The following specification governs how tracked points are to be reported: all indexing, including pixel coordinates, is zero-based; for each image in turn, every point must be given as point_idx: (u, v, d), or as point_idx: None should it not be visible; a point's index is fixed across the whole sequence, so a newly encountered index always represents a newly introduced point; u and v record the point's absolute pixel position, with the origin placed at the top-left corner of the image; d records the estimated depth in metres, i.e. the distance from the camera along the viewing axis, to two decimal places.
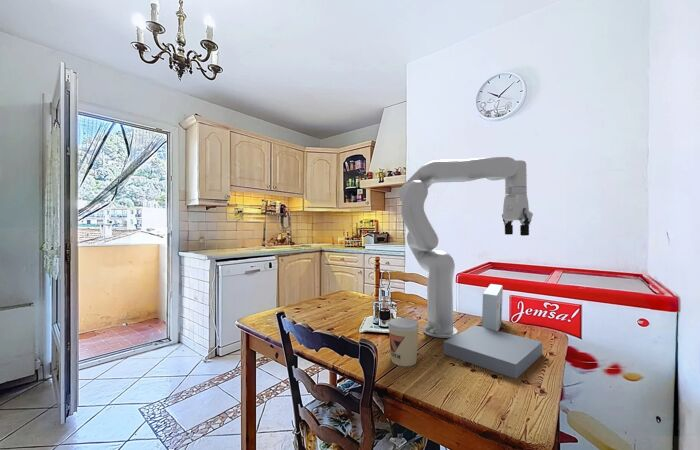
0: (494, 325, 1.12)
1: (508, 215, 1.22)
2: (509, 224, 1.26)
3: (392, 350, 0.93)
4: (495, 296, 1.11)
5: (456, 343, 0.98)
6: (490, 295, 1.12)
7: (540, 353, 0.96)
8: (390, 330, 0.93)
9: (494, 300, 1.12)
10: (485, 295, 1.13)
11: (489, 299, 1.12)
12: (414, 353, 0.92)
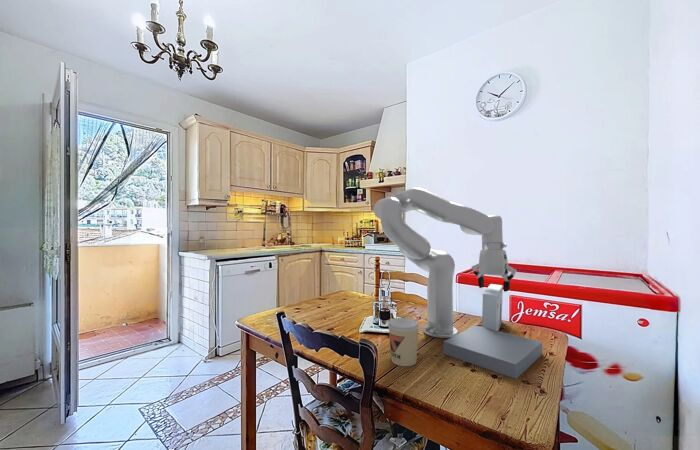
0: (494, 325, 1.12)
1: None
2: None
3: (392, 350, 0.93)
4: (495, 296, 1.11)
5: (456, 343, 0.98)
6: (490, 295, 1.12)
7: (540, 353, 0.96)
8: (390, 330, 0.93)
9: (494, 300, 1.12)
10: (485, 295, 1.13)
11: (489, 299, 1.12)
12: (414, 353, 0.92)
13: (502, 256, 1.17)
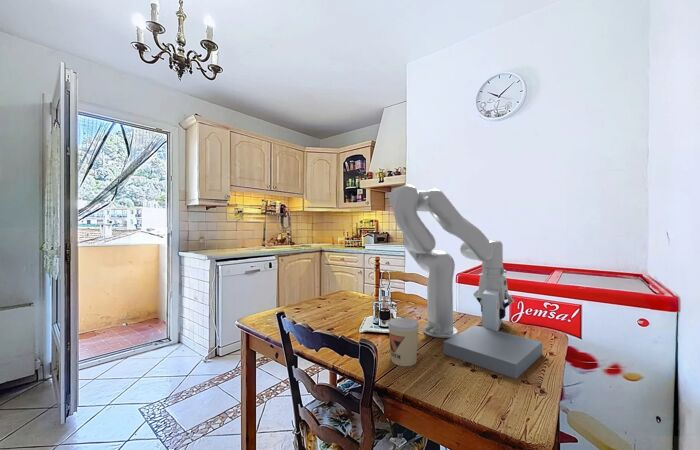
0: (494, 325, 1.12)
1: None
2: None
3: (392, 350, 0.93)
4: (495, 296, 1.11)
5: (456, 343, 0.98)
6: (490, 295, 1.12)
7: (540, 353, 0.96)
8: (390, 330, 0.93)
9: (494, 300, 1.12)
10: (485, 295, 1.13)
11: (489, 299, 1.12)
12: (414, 353, 0.92)
13: (502, 282, 1.17)
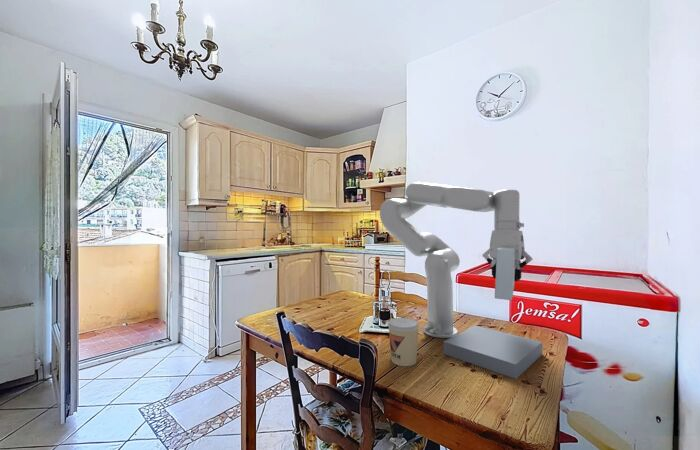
0: (510, 286, 0.93)
1: None
2: None
3: (392, 350, 0.93)
4: (512, 251, 0.93)
5: (456, 343, 0.98)
6: (506, 250, 0.94)
7: (540, 353, 0.96)
8: (390, 330, 0.93)
9: (511, 256, 0.93)
10: (500, 251, 0.95)
11: (504, 255, 0.94)
12: (414, 353, 0.92)
13: (519, 237, 0.99)
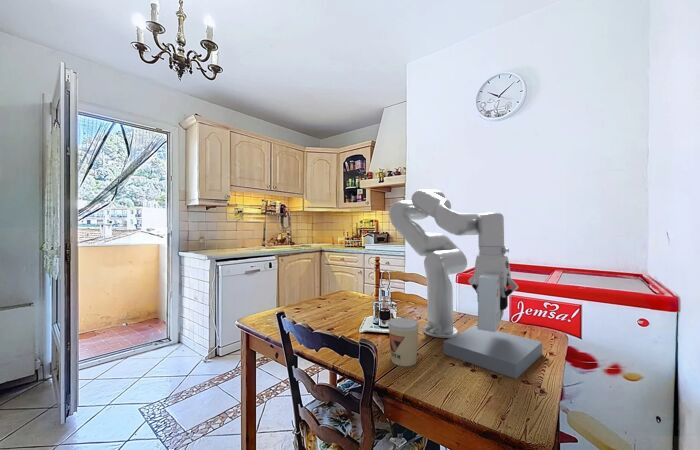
0: (493, 317, 0.88)
1: None
2: None
3: (392, 350, 0.93)
4: (494, 280, 0.88)
5: (456, 343, 0.98)
6: (488, 279, 0.89)
7: (540, 353, 0.96)
8: (390, 330, 0.93)
9: (493, 285, 0.88)
10: (481, 279, 0.90)
11: (486, 284, 0.89)
12: (414, 353, 0.92)
13: (503, 264, 0.93)
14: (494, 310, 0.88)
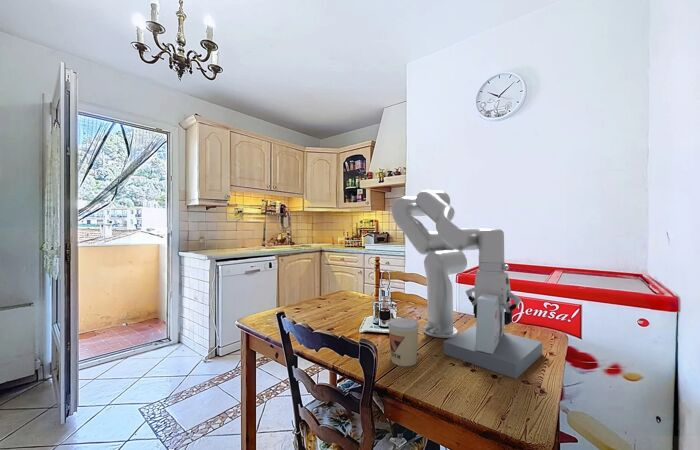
0: (491, 339, 0.89)
1: None
2: None
3: (392, 350, 0.93)
4: (492, 302, 0.88)
5: (456, 343, 0.98)
6: (486, 301, 0.89)
7: (540, 353, 0.96)
8: (390, 330, 0.93)
9: (491, 307, 0.89)
10: (480, 301, 0.90)
11: (485, 306, 0.89)
12: (414, 353, 0.92)
13: (503, 280, 0.93)
14: (492, 332, 0.89)
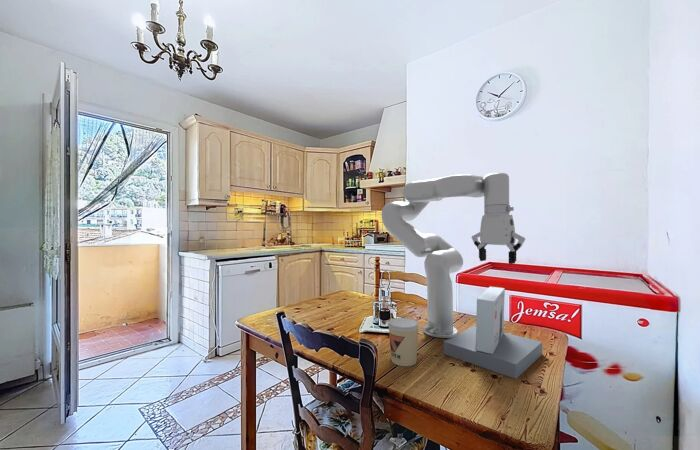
0: (491, 339, 0.89)
1: None
2: None
3: (392, 350, 0.93)
4: (492, 302, 0.88)
5: (456, 343, 0.98)
6: (486, 301, 0.89)
7: (540, 353, 0.96)
8: (390, 330, 0.93)
9: (491, 307, 0.89)
10: (480, 301, 0.90)
11: (484, 306, 0.89)
12: (414, 353, 0.92)
13: (508, 221, 0.97)
14: (492, 332, 0.89)
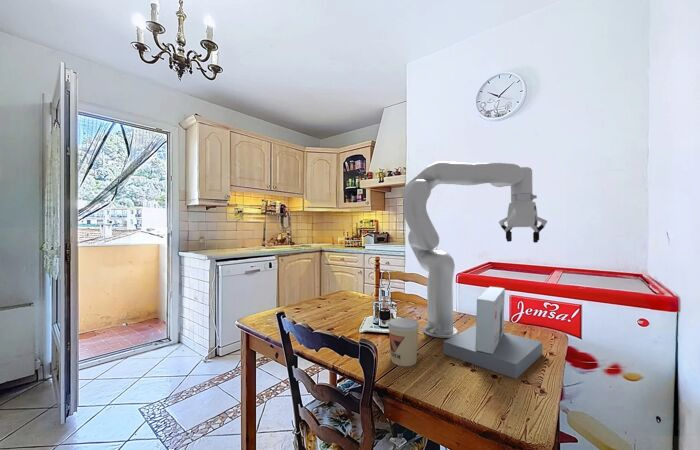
0: (491, 339, 0.89)
1: None
2: None
3: (392, 350, 0.93)
4: (492, 302, 0.88)
5: (456, 343, 0.98)
6: (486, 301, 0.89)
7: (540, 353, 0.96)
8: (390, 330, 0.93)
9: (491, 307, 0.89)
10: (480, 301, 0.90)
11: (484, 306, 0.89)
12: (414, 353, 0.92)
13: (532, 207, 1.17)
14: (492, 332, 0.89)
